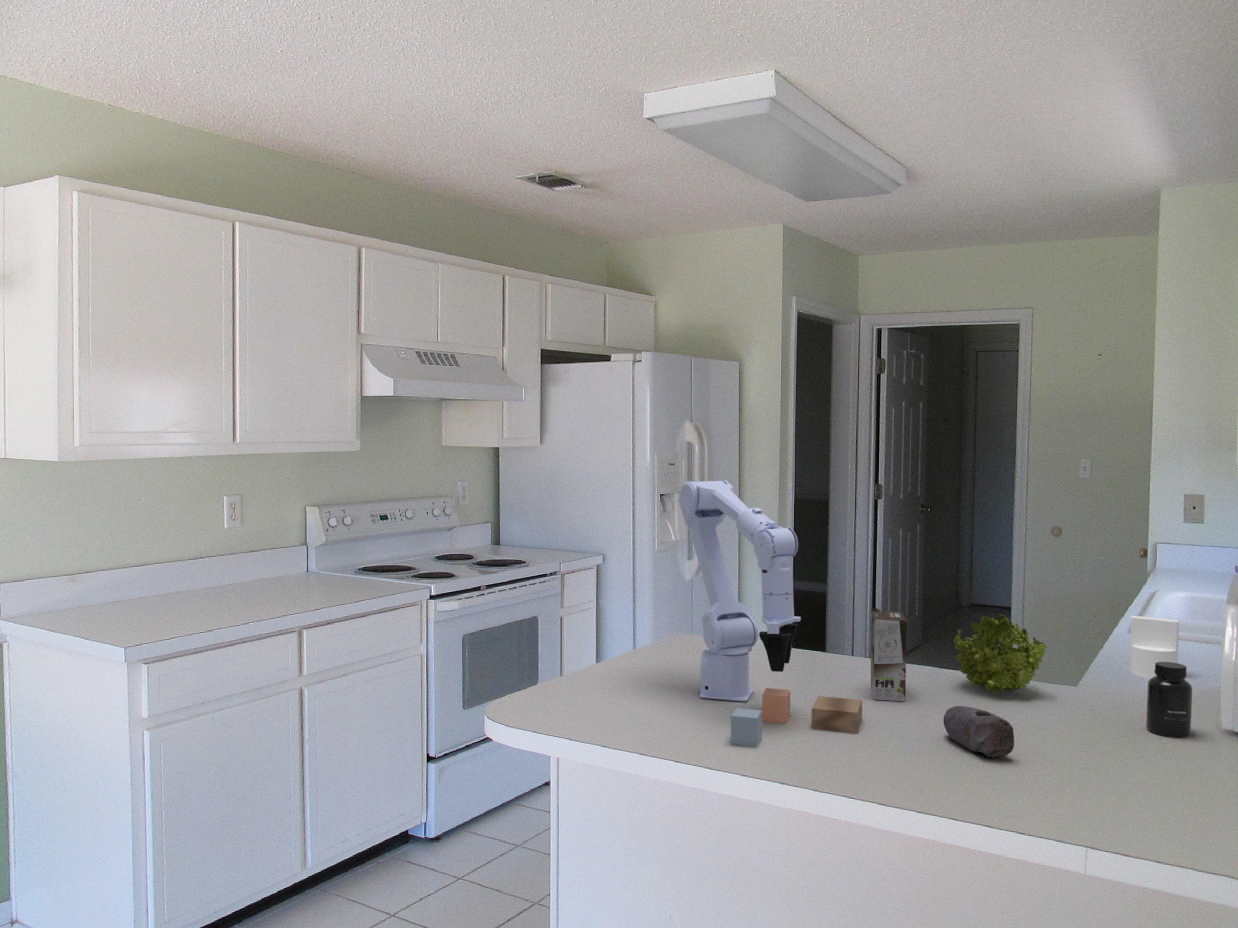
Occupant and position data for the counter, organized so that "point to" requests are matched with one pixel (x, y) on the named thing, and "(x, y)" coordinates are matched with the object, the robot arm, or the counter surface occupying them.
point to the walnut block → (837, 714)
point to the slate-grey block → (746, 727)
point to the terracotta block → (776, 705)
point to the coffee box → (888, 655)
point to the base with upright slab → (1152, 644)
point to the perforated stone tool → (979, 731)
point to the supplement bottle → (1169, 701)
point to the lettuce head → (999, 655)
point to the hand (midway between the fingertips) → (780, 666)
